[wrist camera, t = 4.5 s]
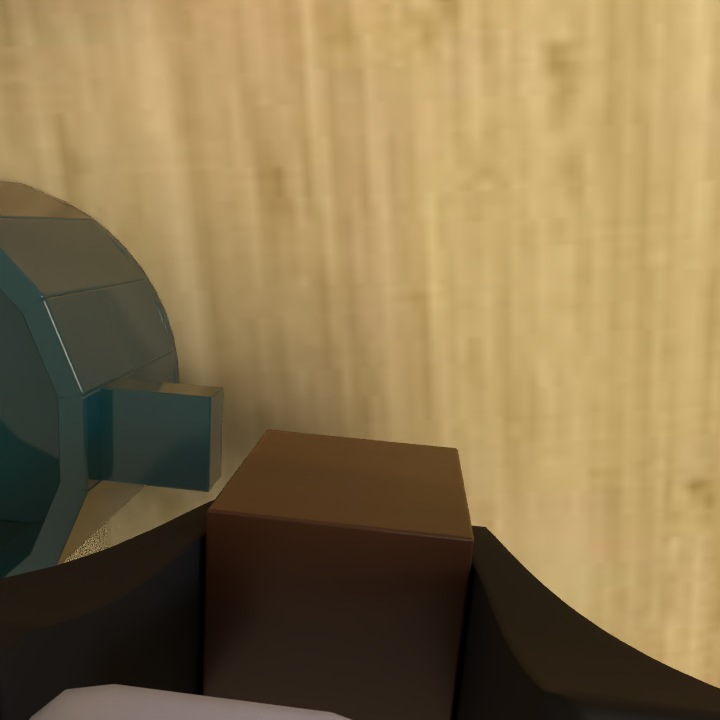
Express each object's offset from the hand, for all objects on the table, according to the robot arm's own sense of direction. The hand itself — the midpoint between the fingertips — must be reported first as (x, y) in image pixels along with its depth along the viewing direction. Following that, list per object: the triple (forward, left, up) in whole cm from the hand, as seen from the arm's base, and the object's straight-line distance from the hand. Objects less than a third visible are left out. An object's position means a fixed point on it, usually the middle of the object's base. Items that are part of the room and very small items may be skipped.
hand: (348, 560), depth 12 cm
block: (0, 0, -1) cm, 1 cm away
